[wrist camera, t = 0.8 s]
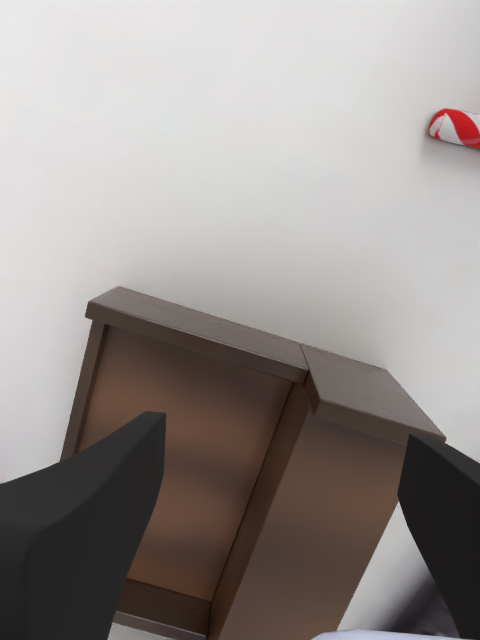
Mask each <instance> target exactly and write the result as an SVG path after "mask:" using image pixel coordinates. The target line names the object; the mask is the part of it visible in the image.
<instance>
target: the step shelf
mask: <svg viewBox="0 0 480 640" xmlns="http://www.w3.org/2000/svg"><path fill="white" fill-rule="evenodd" d="M85 317H86V318H88V319H91V320H93V321H92V325H91V329H90V334H89V338H88V342H87V347H86V351H85V355H84V360H83V364H82V368H81V372H80V377H79V381H78V385H77V390H76V394H75V398H74V403H73V407H72V411H71V415H70V420H69V424H68V428H67V433H66V437H65V441H64V446H63V450H62V454H61V458H60V461H63V460H65V459H67V458H69V457H71V456H73V455H75V454H77V453H79V452H81V451H82V450H84V449H86V448H88V447H89V446H91V445H93V444H95V443H96V442H98V441H100V440H102V439H103V438H105V437H107V436H108V435H110V434H111V433H113V432H114V431H116V430H117V429H119V428H120V427H122V426H124V425H125V424H127V423H128V422H130V421H131V420H132V419H134V418H135V417H137V416H138V415H140V414H142V413H143V412H145V411H154V412H165V413H166V435H165V460H164V475H163V479H162V483H161V487H160V491H159V495H158V498H157V502H156V505H155V508H154V510H153V513H152V515H151V518H150V520H149V523H148V525H147V528H146V530H145V533H144V535H143V538H142V540H141V542H140V545H139V547H138V550H137V552H136V555H135V557H134V560H133V562H132V565H131V567H130V570H129V572H128V575H127V577H126V580H125V583H124V586H123V589H122V591H121V595H120V598H119V601H118V605H117V608H116V612H115V615H114V618H113V622H114V623H118V624H121V625H125V626H128V627H132V628H136V629H139V630H143V631H147V632H150V633H154V634H157V635H161V636H165V637H168V638H172V639H176V640H311V639H313V638H314V637H316V636H318V635H319V634H321V633H324V632H333V631H336V630H337V628H338V626H339V624H340V622H341V620H342V618H343V616H344V614H345V612H346V610H347V607H348V605H349V603H350V601H351V599H352V597H353V595H354V593H355V591H356V589H357V587H358V585H359V582H360V580H361V578H362V576H363V574H364V572H365V570H366V568H367V566H368V564H369V562H370V560H371V557H372V555H373V553H374V551H375V549H376V547H377V545H378V543H379V541H380V539H381V537H382V535H383V533H384V530H385V528H386V526H387V524H388V522H389V520H390V518H391V516H392V514H393V512H394V510H395V508H396V505H397V503H398V501H399V499H398V496H397V492H398V487H399V482H400V477H401V472H402V467H403V462H404V457H405V452H406V447H407V442H408V437H409V434H416V435H427V436H432V437H434V438H436V439H438V440H440V441H442V442H444V443H445V441H446V436H445V435H444V434H443V433H442V432H441V431H440V430H439V429H438V427H437V426H436V425H435V424H434V423H433V422H432V421H431V419H430V418H429V417H428V416H427V415H426V414H425V413H424V412H423V410H422V409H421V408H420V407H419V406H418V405H417V404H416V403H415V401H414V400H413V399H412V398H411V397H410V396H409V395H408V393H407V392H406V391H405V390H404V389H403V388H402V387H401V386H400V384H399V383H398V382H397V381H396V380H395V379H394V378H393V376H392V375H391V374H390V373H389V372H388V371H387V370H384V369H381V368H378V367H375V366H371V365H368V364H365V363H362V362H359V361H356V360H352V359H349V358H346V357H343V356H340V355H336V354H333V353H330V352H327V351H324V350H320V349H317V348H314V347H311V346H308V345H304V344H299V343H298V342H295V341H291V340H288V339H285V338H282V337H279V336H276V335H272V334H269V333H266V332H263V331H260V330H256V329H253V328H250V327H247V326H244V325H240V324H237V323H234V322H231V321H228V320H224V319H221V318H218V317H215V316H212V315H208V314H205V313H202V312H199V311H196V310H192V309H189V308H186V307H183V306H180V305H177V304H173V303H170V302H167V301H164V300H161V299H157V298H154V297H151V296H148V295H145V294H141V293H138V292H135V291H132V290H129V289H125V288H122V287H116V288H114V289H112V290H110V291H108V292H106V293H104V294H102V295H100V296H98V297H96V298H94V299H92V300H90V301H89V302H88V305H87V309H86V314H85Z"/></svg>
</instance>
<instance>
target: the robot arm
mask: <svg viewBox="0 0 480 640" xmlns="http://www.w3.org/2000/svg"><path fill="white" fill-rule="evenodd" d="M165 435H166V413H165V412H154V411H145V412H143V413H142V414H140V415H138V416H137V417H135V418H134V419H132V420H131V421H130V422H128V423H127V424H125V425H124V426H122V427H120V428H119V429H117V430H116V431H114V432H113V433H111V434H110V435H108V436H107V437H105V438H103V439H102V440H100V441H98V442H96V443H95V444H93V445H91V446H89V447H88V448H86V449H84V450H82V451H81V452H79V453H77V454H75V455H73V456H71V457H69V458H67V459H65V460H63V461H60V462H58V463H56V464H54V465H52V466H49V467H47V468H44V469H42V470H39V471H37V472H34V473H31V474H28V475H26V476H23V477H20V478H17V479H15V480H12V481H9V482H6V483H2V484H0V640H107V639H108V635H109V632H110V628H111V625H112V622H113V618H114V615H115V612H116V608H117V605H118V601H119V598H120V595H121V591H122V589H123V586H124V583H125V580H126V577H127V575H128V572H129V570H130V567H131V565H132V562H133V560H134V557H135V555H136V552H137V550H138V547H139V545H140V542H141V540H142V538H143V535H144V533H145V530H146V528H147V525H148V523H149V520H150V518H151V515H152V513H153V510H154V508H155V505H156V502H157V498H158V495H159V491H160V487H161V483H162V479H163V475H164V460H165ZM397 496H398V499H399V502H400V505H401V508H402V511H403V514H404V517H405V520H406V523H407V526H408V528H409V530H410V532H411V534H412V536H413V538H414V540H415V542H416V544H417V547H418V549H419V551H420V553H421V555H422V557H423V559H424V561H425V563H426V565H427V567H428V569H429V571H430V573H431V575H432V577H433V579H434V581H435V583H436V585H437V587H438V589H439V591H440V593H441V595H442V597H443V599H444V601H445V603H446V605H447V607H448V609H449V611H450V614H451V616H452V618H453V620H454V623H455V625H456V628H457V630H458V633H459V635H460V638H461V639H460V638H449V637H438V636H427V635H417V634H406V633H395V632H384V631H373V630H363V629H351V630H342V631H333V632H324V633H321V634H319V635H318V636H316V637H314V638H313V639H311V640H480V463H478V462H476V461H475V460H473V459H471V458H470V457H468V456H466V455H465V454H463V453H461V452H460V451H458V450H456V449H455V448H453V447H451V446H449V445H448V444H446V443H444V442H442V441H440V440H438V439H436V438H434V437H432V436H427V435H416V434H409V437H408V442H407V447H406V452H405V457H404V462H403V467H402V472H401V477H400V482H399V487H398V492H397ZM175 640H176V639H175Z"/></svg>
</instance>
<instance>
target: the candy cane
mask: <svg viewBox="0 0 480 640" xmlns="http://www.w3.org/2000/svg"><path fill="white" fill-rule="evenodd" d="M429 132H430V135H431V136H433V137H435V138H438V139H441V140H444V141H448V142H452V143H456V144H461V145H465V146H469V147H473V148H478V149H480V115H478V114H474V113H469V112H465V111H459V110H453V109H441V110H439V111H437V112H436V113H435V115H434V116H433V118H432V120H431V122H430V126H429Z"/></svg>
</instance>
